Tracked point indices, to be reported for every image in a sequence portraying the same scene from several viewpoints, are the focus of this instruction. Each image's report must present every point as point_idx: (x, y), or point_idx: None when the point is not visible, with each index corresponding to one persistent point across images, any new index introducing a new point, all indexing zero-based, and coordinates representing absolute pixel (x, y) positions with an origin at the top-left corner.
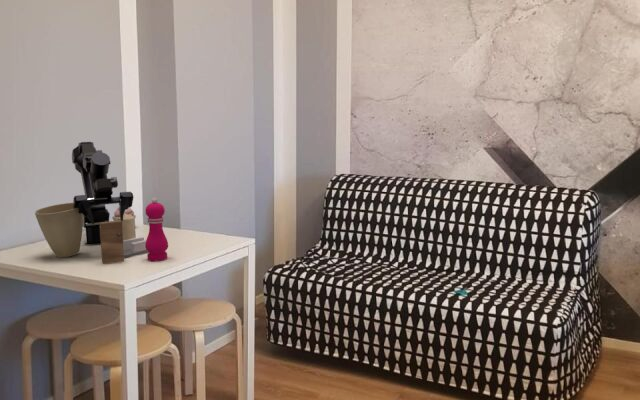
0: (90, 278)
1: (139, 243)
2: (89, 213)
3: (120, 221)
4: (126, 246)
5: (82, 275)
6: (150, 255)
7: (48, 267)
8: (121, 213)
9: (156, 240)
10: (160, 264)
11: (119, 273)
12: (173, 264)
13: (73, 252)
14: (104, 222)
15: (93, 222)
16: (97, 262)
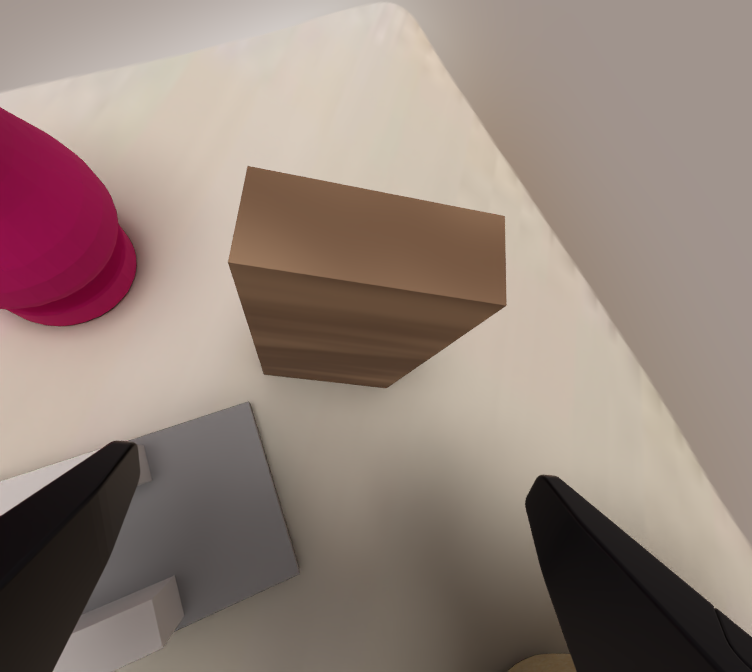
0: (491, 140)
1: (50, 467)
2: (697, 605)
3: (259, 188)
4: (135, 597)
5: (513, 201)
6: (119, 230)
7: (642, 444)
8: (44, 528)
9: (23, 120)
10: (130, 146)
11: (370, 131)
12: (70, 103)
13: (527, 664)
14: (454, 255)
15: (546, 475)
16: (408, 401)
